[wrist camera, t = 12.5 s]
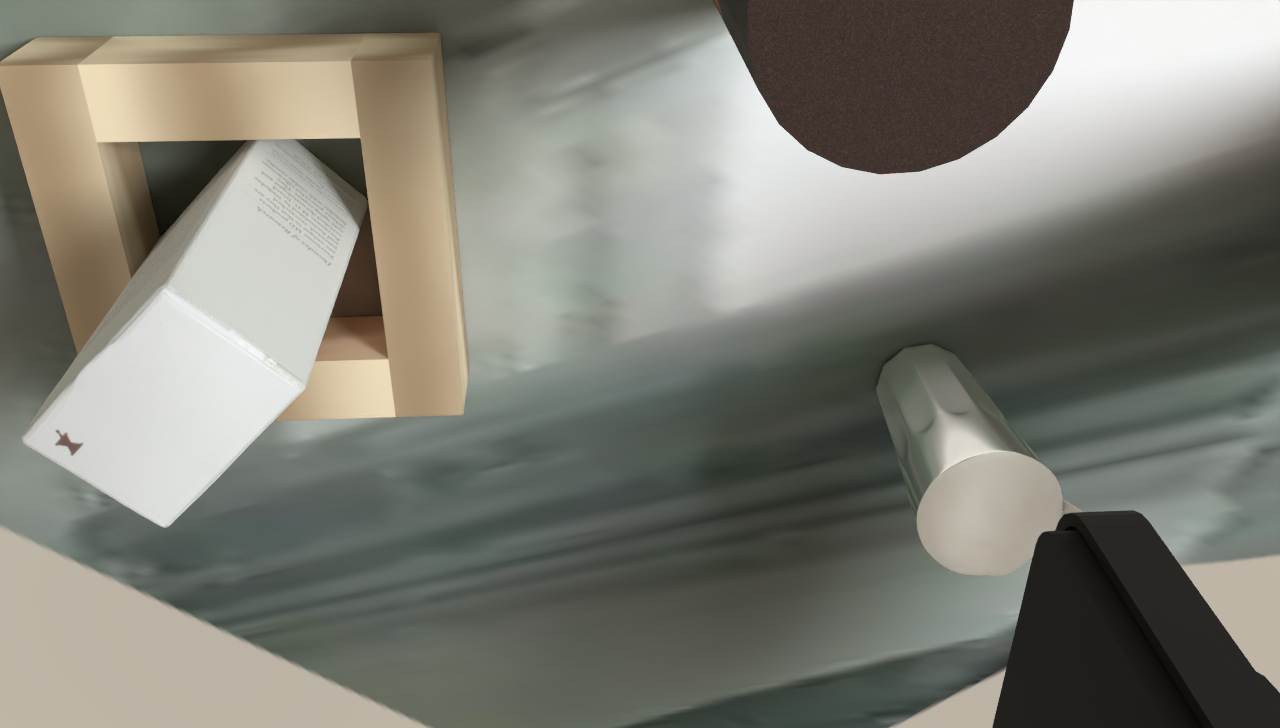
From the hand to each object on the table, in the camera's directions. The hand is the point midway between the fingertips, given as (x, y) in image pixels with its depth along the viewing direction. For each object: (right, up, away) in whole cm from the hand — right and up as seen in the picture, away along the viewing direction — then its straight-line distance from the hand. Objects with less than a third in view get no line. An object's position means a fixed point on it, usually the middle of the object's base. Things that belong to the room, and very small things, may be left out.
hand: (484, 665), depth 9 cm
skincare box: (-11, +7, +28) cm, 31 cm away
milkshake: (+12, +2, +33) cm, 35 cm away
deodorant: (+5, +17, +24) cm, 29 cm away
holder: (-11, +7, +28) cm, 31 cm away
